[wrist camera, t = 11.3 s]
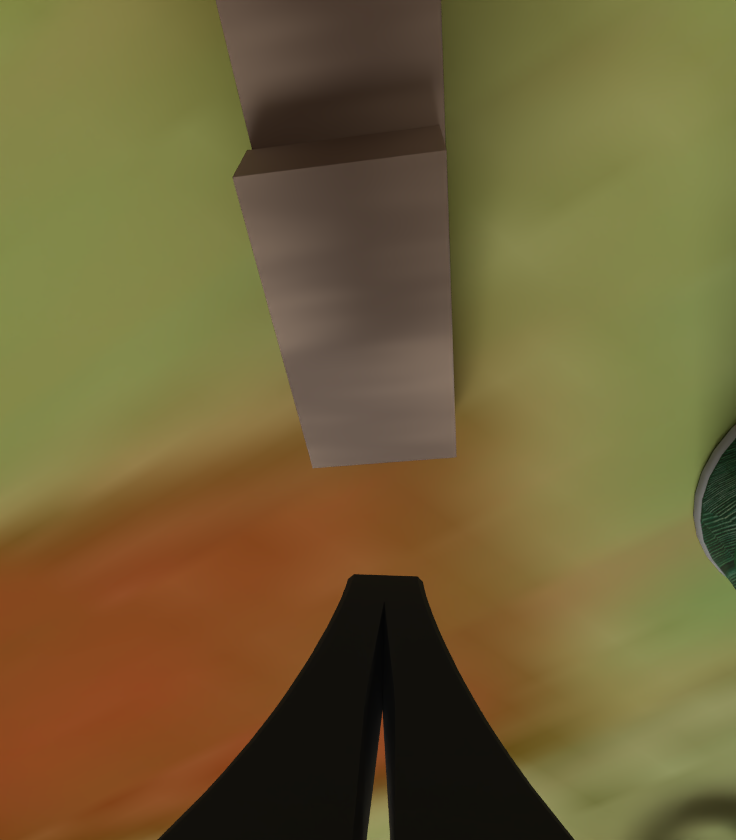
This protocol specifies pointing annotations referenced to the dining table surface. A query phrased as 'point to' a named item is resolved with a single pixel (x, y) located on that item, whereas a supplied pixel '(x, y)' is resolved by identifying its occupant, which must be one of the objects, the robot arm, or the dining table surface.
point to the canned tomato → (718, 507)
